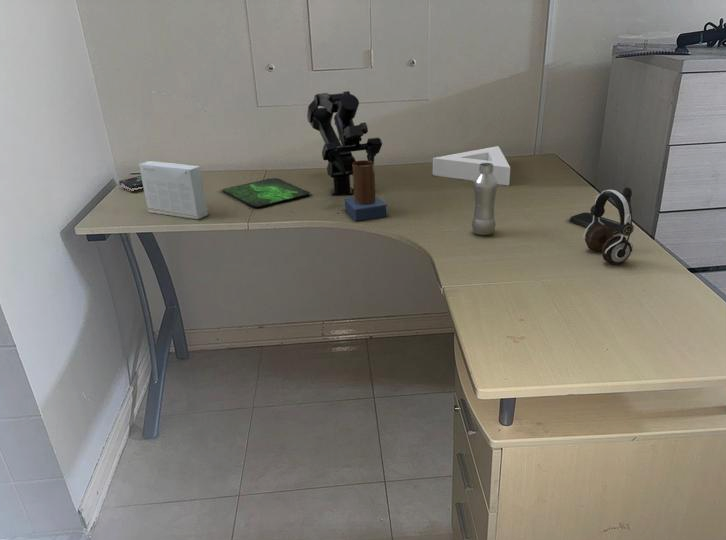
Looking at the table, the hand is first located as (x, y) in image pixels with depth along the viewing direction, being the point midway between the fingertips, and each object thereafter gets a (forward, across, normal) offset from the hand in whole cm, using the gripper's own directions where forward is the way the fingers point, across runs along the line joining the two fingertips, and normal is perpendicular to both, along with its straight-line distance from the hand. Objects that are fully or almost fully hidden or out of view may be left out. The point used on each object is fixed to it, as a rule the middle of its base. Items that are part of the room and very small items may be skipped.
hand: (359, 172), depth 201 cm
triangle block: (-5, +49, +23) cm, 54 cm away
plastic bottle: (+34, +25, -17) cm, 45 cm away
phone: (+39, +58, -23) cm, 74 cm away
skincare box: (-7, -55, +24) cm, 61 cm away
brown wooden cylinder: (+9, 0, +2) cm, 9 cm away
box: (+12, 0, +5) cm, 13 cm away
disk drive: (-33, -64, +51) cm, 88 cm away
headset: (+54, +46, -37) cm, 80 cm away
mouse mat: (-13, -25, +30) cm, 41 cm away
